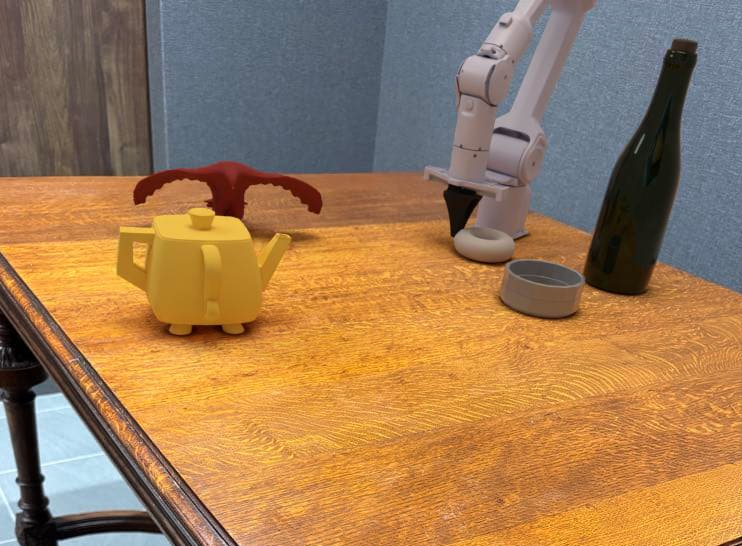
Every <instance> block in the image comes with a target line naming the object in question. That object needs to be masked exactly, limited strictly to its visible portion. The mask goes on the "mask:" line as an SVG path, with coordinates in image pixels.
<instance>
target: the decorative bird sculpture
mask: <svg viewBox="0 0 742 546" xmlns="http://www.w3.org/2000/svg"><path fill="white" fill-rule="evenodd" d="M184 180H189V181H198V182H200V183H206V185H207V187H208V188H209V189H210V193H211V197H212V198H209V199H206V200H203V203H205V207H207V208H211V210H212V211H214V212H215V216H226V217H234V218H238V219H239V220H240V221H242V220H244V219H243V218H244V216H245V209H246V206H247V205H249V203H248V202H246V201H245V194H246V191H247V190H248V189H249V188H250V187H251V186H259V185H263V186H267V185H272V186H273V187H278V186H279V187H281V188H282V189H283V190H284V191H290V193H291V195H292V196H293V197H294V198H298V199H299V200H300V201H299V202H300V204H302V205H307V212H309V213H313V214H315V215H320V213H321V212H322V208H323V204H324V202H323V199H322V198H323V197H322V194H321V192H320V191H319V190H318V189H317V188H315V187H314V186H312V185H311V184H309V183H308V182H306V181H304V180H301V179H299V178H296V177H294V176H289V175H284V174H281V173H277V172H276V173H275V172H274V173H270V172H263V171H262V170H261V171H260V170H258V169H255V168H253V167H250V166H249V165H246V164H244V163H241V162H238V161H234V160H233V161H232V160H222V161H218V162H216V163H211V164H210V165H205V166H199V167H194V168H193V167H191V168H187V167H186V168H185V167H179V168H172V169H171V168H170V169H165V170H160V171H157V172H155V173H152V174H151V175H148V176H145V177H144V178H142V179H139V181H138V182H137V183H136V185H135V186H134V189H133V191H132V194H133V195H132V198H133V199H132V200H133V204H134V206H138V205H143V204H146V202H147V197H153V196H154V194H155V192H156V191H157V190H158V191H159V190H161V189H162V188H163V187H164V186H165V185H166V184H171V183H173V182H176V181H181V182H182V181H184Z"/></svg>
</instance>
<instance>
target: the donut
mask: <svg viewBox="0 0 742 546" xmlns="http://www.w3.org/2000/svg"><path fill="white" fill-rule="evenodd" d="M514 240H515V239H512V238H511V237H510V236H509V235H507V234H506V233H503V232H501V231H498V230H495V229H490V228H484V227H470V226H468V228H467V227H465V228H464V229H462V230H460V231H459V232H458V233H457V234H456V236H455V238H453V246H454V248H455V250H456V251H457V252H458V253H459V254H460V255H461V256H463V257H464V258H467V259H469V260H472V261H475V262H481V263H487V264H489V263H491V264H492V263H493V264H494V263H503V262H506V261H508V260H510V259H511V258H512V257H513V256H514V254H515V252H516V243H515V241H514Z"/></svg>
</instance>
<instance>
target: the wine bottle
mask: <svg viewBox="0 0 742 546" xmlns="http://www.w3.org/2000/svg"><path fill="white" fill-rule="evenodd" d="M698 47H699V42H697V41H696V40H692V39H689V38H688V39H687V38H676V37H675V38H673V39H672V42H671V46H670V48H667V49H666V51H665V53H664V55H663V59H662V65H661V69H660V72H659V75H658V78H657V82H656V85H655V87H654V90H653V93H652V97H651V99H650V101H649V104H648V106H647V109H646V112H645V113H644V115H643V117H642V118H641V120H640V123H639V124H638V125H637V127H636V129H635V131H634V132H633V133H632V135H631V136H630V138H629V140H628V141H627V143H626V144H625V145H624V147H623V149H622V150H621V152H620V153H619V155H618V157H617V159H616V161H615V163H614V165H613V166H612V167H613V168H612V170H611V173H610V176H609V178H608V181H607V185H606V187H605V190H604V195H603V198H602V201H601V204H600V208H599V211H598V214H597V218H596V222H595V225H594V228H593V232H592V235H591V239H590V243H589V245H588V248H587V252H586V257H585V260H584V262H583V263H584V264H583V267H582V273H581V274H582V275H583V276H584V277H585V282H587V283H589V284H590V285H592V286H593V287H596V288H598V289H601V290H604V291H608V292H612V293H617V294H628V295H629V294H631V295H632V294H633V295H634V294H639V293H642V292H645V291H646V290H647V289H648V287H649V286H650V283H651V280H652V277H653V275H654V271H655V268H656V265H657V261H658V259H659V256H660V253H661V249H662V245H663V243H664V239H665V236H666V232H667V230H668V226H669V223H670V219H671V216H672V213H673V209H674V206H675V202H676V199H677V195H678V191H679V188H680V187H679V186H680V183H681V176H682V119H683V113H684V108H685V103H686V99H687V95H688V91H689V88H690V84H691V81H692V77H693V73H694V71H695V68H696V67H697V64H698V59H699V53H698V52H697V50H698Z"/></svg>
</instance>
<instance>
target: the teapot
mask: <svg viewBox="0 0 742 546" xmlns="http://www.w3.org/2000/svg"><path fill="white" fill-rule="evenodd" d="M118 230H119V231H118V239H117V240H118V242H117V251H116V252H117V253H116V263H115V264H116V265H115V271H116V276H118V277H120V278H121V279H123V280H125V281H126V282H128V283H129V284H131V285H133V286H134V287H136V288H138V289H140V290H142V291H143V292H145V296H146V298H147V301H148V304H149V305H150V308H151V310H152V312H153V314H154V316H155V318H156V320H158V321H160V322H162V323H166V324H170V327H169V329H168V331H169V332H170V333H171V334H173V335H178V336H181V335H182V336H184V335H189V334H191V333H192V330H193V326H221V328H222V331H223V332H225V333H227V334H230V335H231V334H232V335H233V334H234V335H237V334H242V333H244V332H245V328H244V326H243V325H242V324H243V323H245V324H246V323H249V322H250V323H251V322H254V321H255V320H256V319H257V317H258V316H259V313H260V311H261V309H262V306H263V293H264V292H265V291H266V289H267V287H268V285H269V284H270V282H271V279H272V277H273V276H274V274H275V272H276V270H277V269H278V266H279V264H280V263H281V260H282V259H283V257H284V255H285V253H286V251H287V249H288V247H289V245H290V243H291V241H292V237H291V236H290V235H289V234H285V233H281V232H275V235H274V236H273V237H272V239H270V241H269V242H268V243H267V244H266V245H265V247H264V248H263V249H262V250H261V251H260V252H259V254H258V255H257V254H256V250H255V249H256V248H255V246H254V241H253V239H252V235H251V234H250V232H249V230H248V229H247V227H246V225H245V224H244V222H243V221H242V220H239V219H238V218H235V217H231V216H227V217H226V216H215V212H214V211H212V209H210V208H208V207H207V208H206V207H193V208H190V209H188V211H187V212H185V213H183V214H161V215H156V216H155V217H154V218H153V220H152V223H151V226H150V227H139V226H137V227H135V226H134V227H133V226H119V229H118ZM134 243H140V244H146V247H145V255H144V265H143V266H141V265H140V264H137V263H136V262H134Z"/></svg>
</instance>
